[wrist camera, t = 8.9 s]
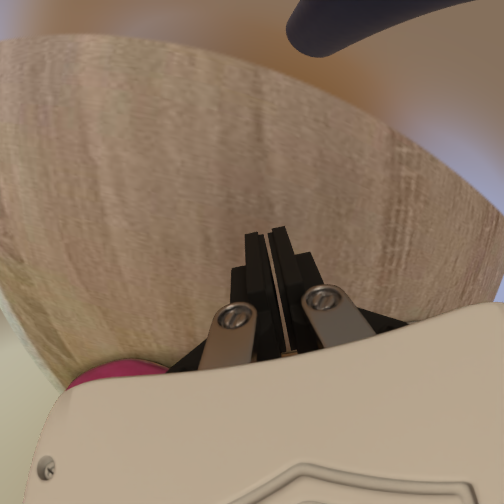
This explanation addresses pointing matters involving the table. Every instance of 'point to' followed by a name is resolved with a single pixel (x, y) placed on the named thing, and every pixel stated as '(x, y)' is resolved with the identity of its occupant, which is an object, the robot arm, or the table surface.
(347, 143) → the table surface
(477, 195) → the table surface
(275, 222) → the table surface
